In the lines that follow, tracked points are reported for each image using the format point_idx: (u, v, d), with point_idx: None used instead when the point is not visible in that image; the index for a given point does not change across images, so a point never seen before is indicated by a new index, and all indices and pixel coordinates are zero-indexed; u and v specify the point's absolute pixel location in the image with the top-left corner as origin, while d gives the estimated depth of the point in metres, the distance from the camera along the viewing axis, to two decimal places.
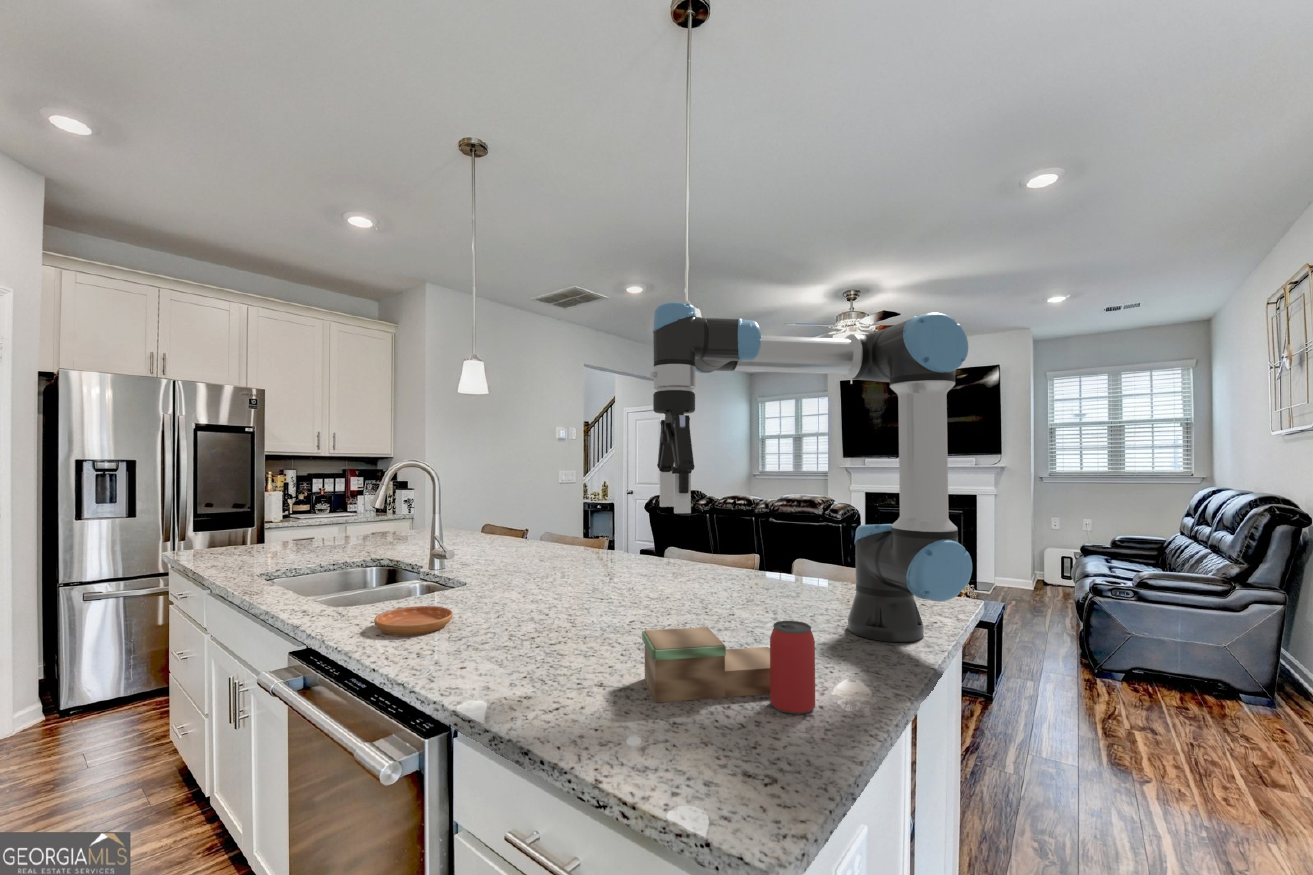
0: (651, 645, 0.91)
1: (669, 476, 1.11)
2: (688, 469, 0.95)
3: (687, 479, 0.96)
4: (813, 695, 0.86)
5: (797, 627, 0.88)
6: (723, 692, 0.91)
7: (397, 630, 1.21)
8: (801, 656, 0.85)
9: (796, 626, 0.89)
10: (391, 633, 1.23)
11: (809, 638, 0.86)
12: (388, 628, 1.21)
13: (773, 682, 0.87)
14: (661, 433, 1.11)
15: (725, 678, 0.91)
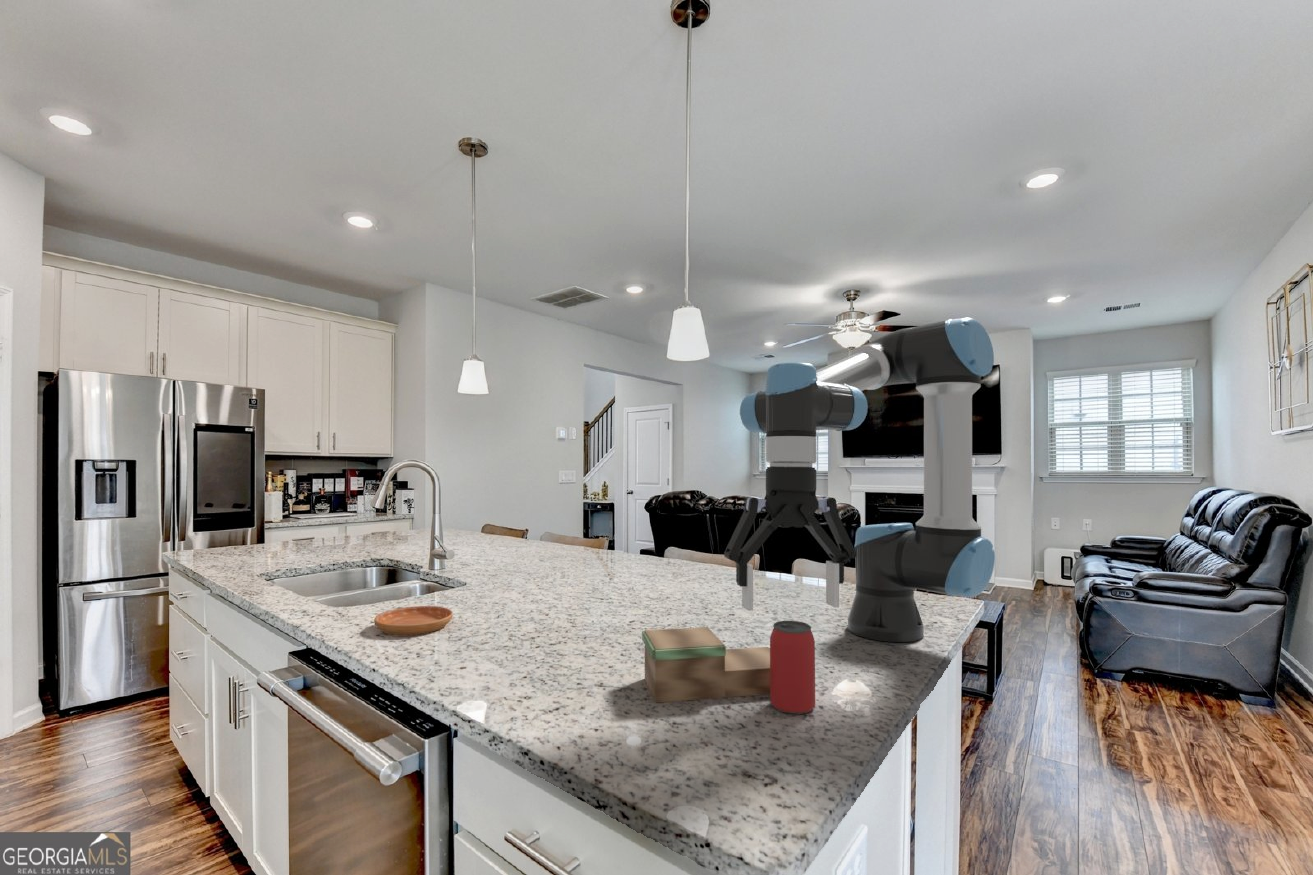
0: (651, 645, 0.91)
1: (831, 568, 0.89)
2: (729, 559, 0.86)
3: (738, 570, 0.86)
4: (813, 695, 0.86)
5: (797, 627, 0.88)
6: (723, 692, 0.91)
7: (397, 630, 1.21)
8: (801, 656, 0.85)
9: (796, 626, 0.89)
10: (391, 633, 1.23)
11: (809, 638, 0.86)
12: (388, 628, 1.21)
13: (773, 682, 0.87)
14: (823, 513, 0.91)
15: (725, 678, 0.91)
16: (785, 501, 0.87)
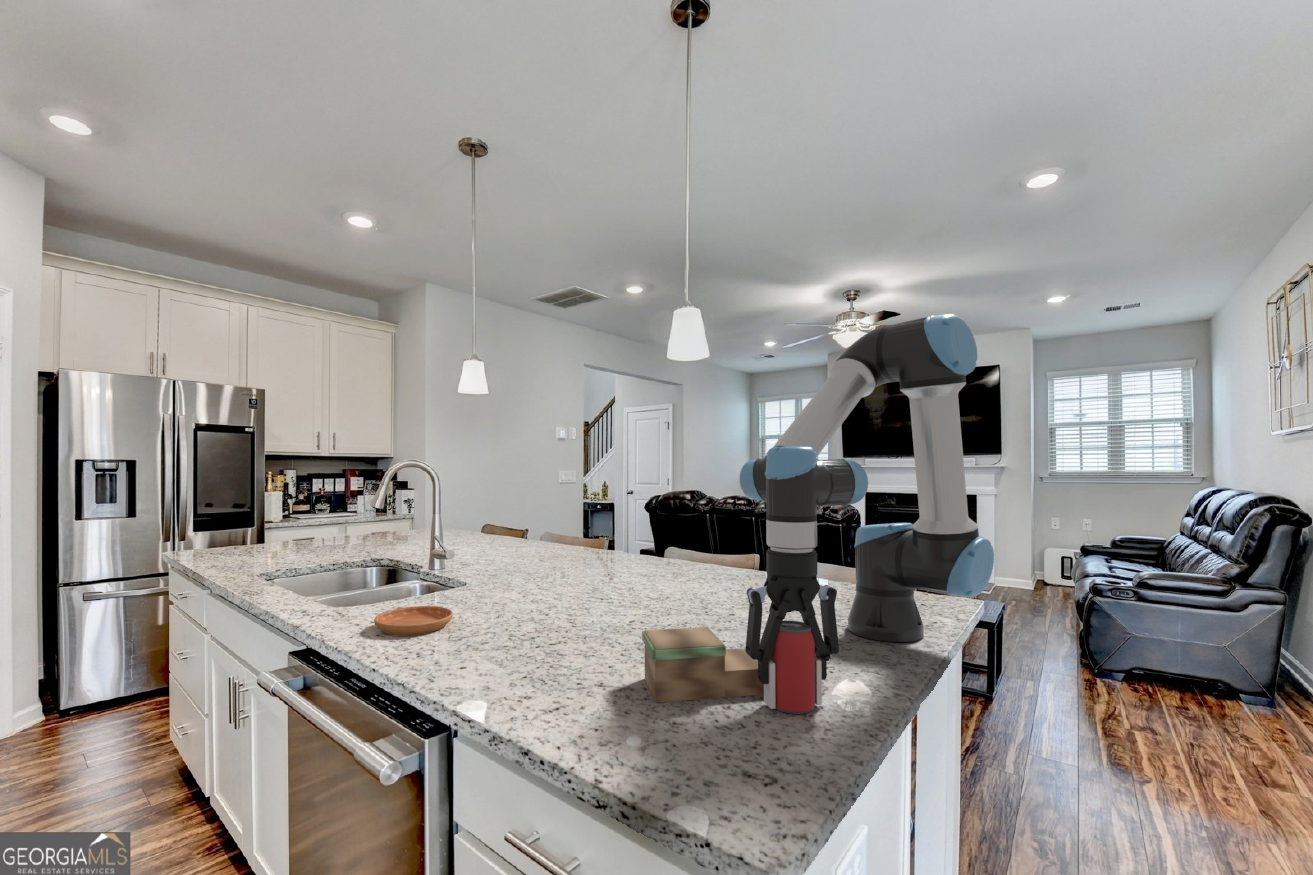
0: (651, 645, 0.91)
1: None
2: (751, 657, 0.86)
3: (760, 668, 0.86)
4: (813, 695, 0.86)
5: (797, 627, 0.88)
6: (723, 692, 0.91)
7: (397, 630, 1.21)
8: (801, 655, 0.85)
9: (796, 626, 0.89)
10: (391, 633, 1.23)
11: (809, 638, 0.86)
12: (388, 628, 1.21)
13: None
14: (820, 600, 0.90)
15: (725, 678, 0.91)
16: (784, 582, 0.87)
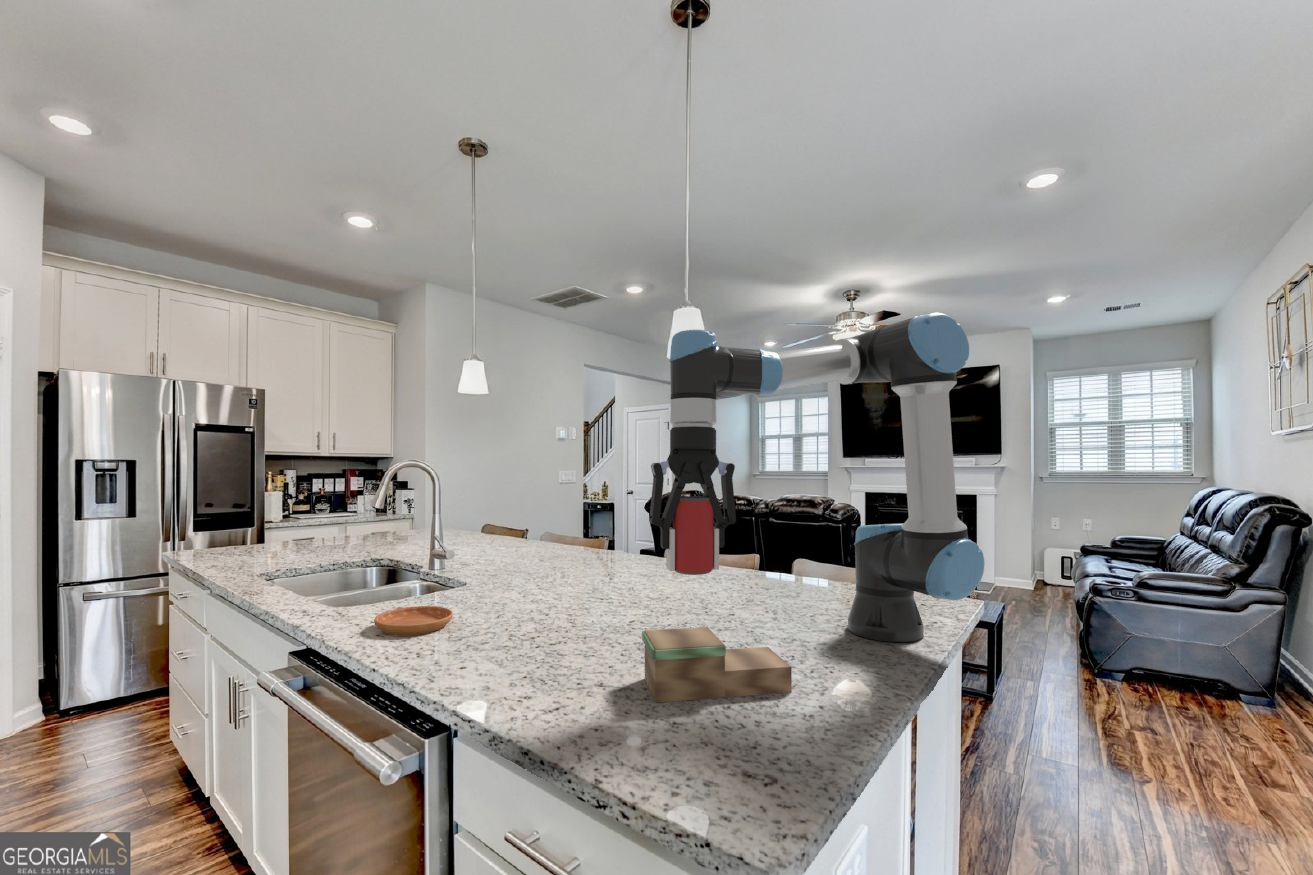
0: (651, 645, 0.91)
1: None
2: (653, 524, 0.93)
3: (662, 534, 0.93)
4: (709, 558, 0.93)
5: None
6: (723, 692, 0.91)
7: (397, 630, 1.21)
8: (698, 520, 0.92)
9: None
10: (391, 633, 1.23)
11: (707, 506, 0.93)
12: (388, 628, 1.21)
13: None
14: (721, 477, 0.97)
15: (725, 678, 0.91)
16: (685, 455, 0.94)
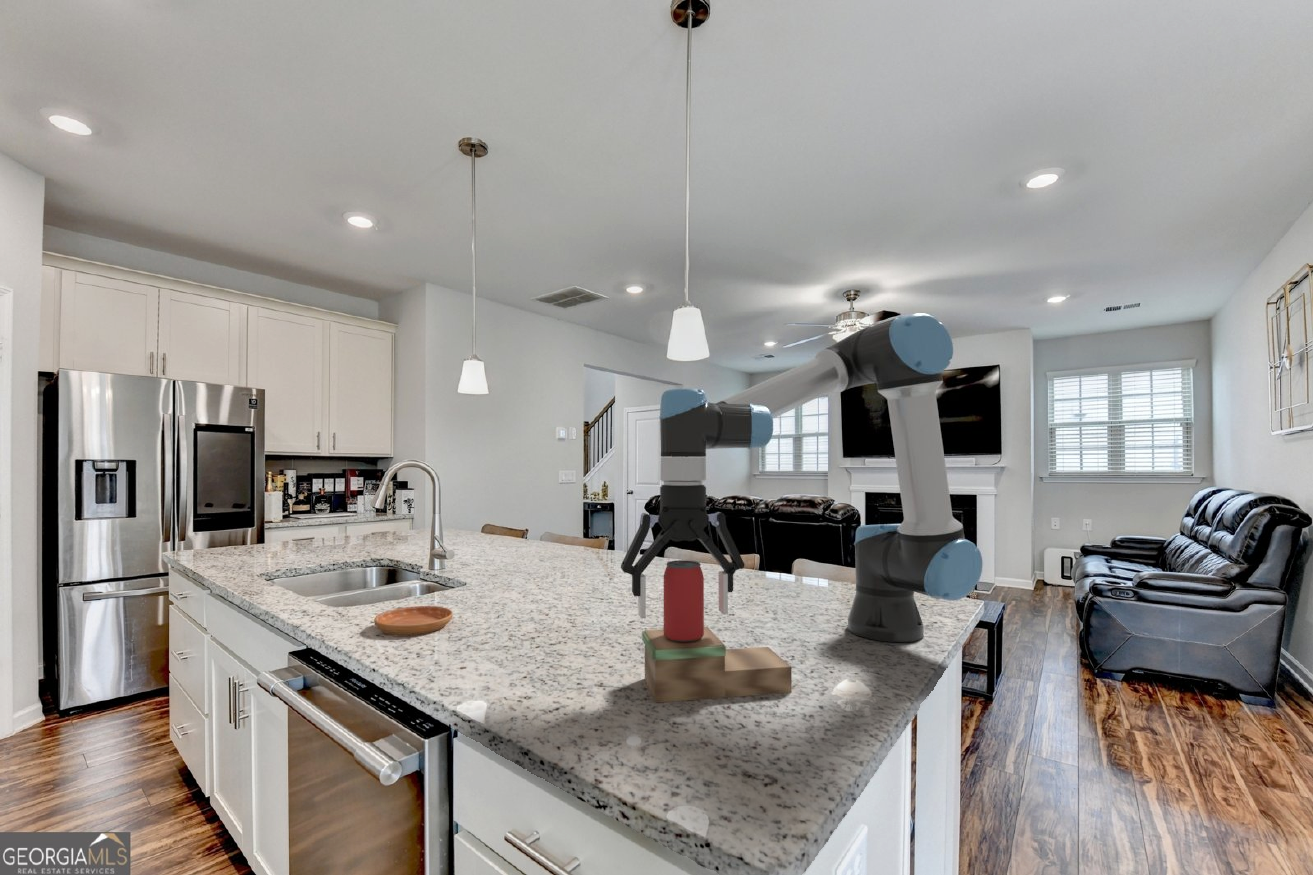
0: (651, 645, 0.91)
1: (721, 578, 0.96)
2: None
3: (633, 581, 0.93)
4: (700, 625, 0.93)
5: (688, 565, 0.96)
6: (723, 692, 0.91)
7: (397, 630, 1.21)
8: (688, 588, 0.92)
9: (688, 564, 0.96)
10: (391, 633, 1.23)
11: (697, 573, 0.93)
12: (388, 628, 1.21)
13: (664, 614, 0.94)
14: (716, 527, 0.98)
15: (725, 678, 0.91)
16: (676, 517, 0.95)
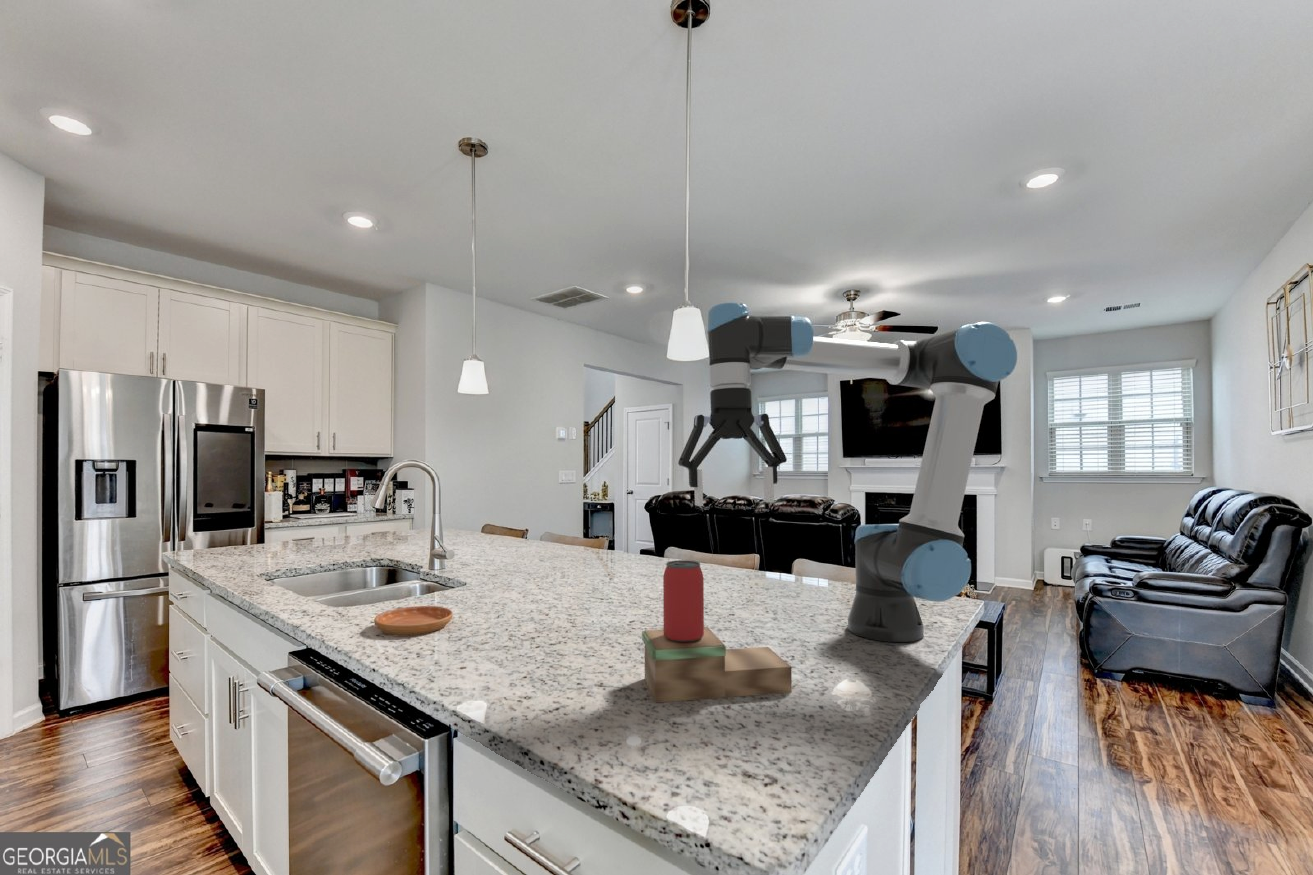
0: (651, 645, 0.91)
1: (767, 471, 1.09)
2: (682, 465, 1.05)
3: (690, 474, 1.05)
4: (699, 625, 0.93)
5: (688, 565, 0.96)
6: (723, 692, 0.91)
7: (397, 630, 1.21)
8: (688, 588, 0.92)
9: (688, 564, 0.96)
10: (391, 633, 1.23)
11: (697, 573, 0.93)
12: (388, 628, 1.21)
13: (664, 614, 0.94)
14: None
15: (725, 678, 0.91)
16: (726, 417, 1.07)
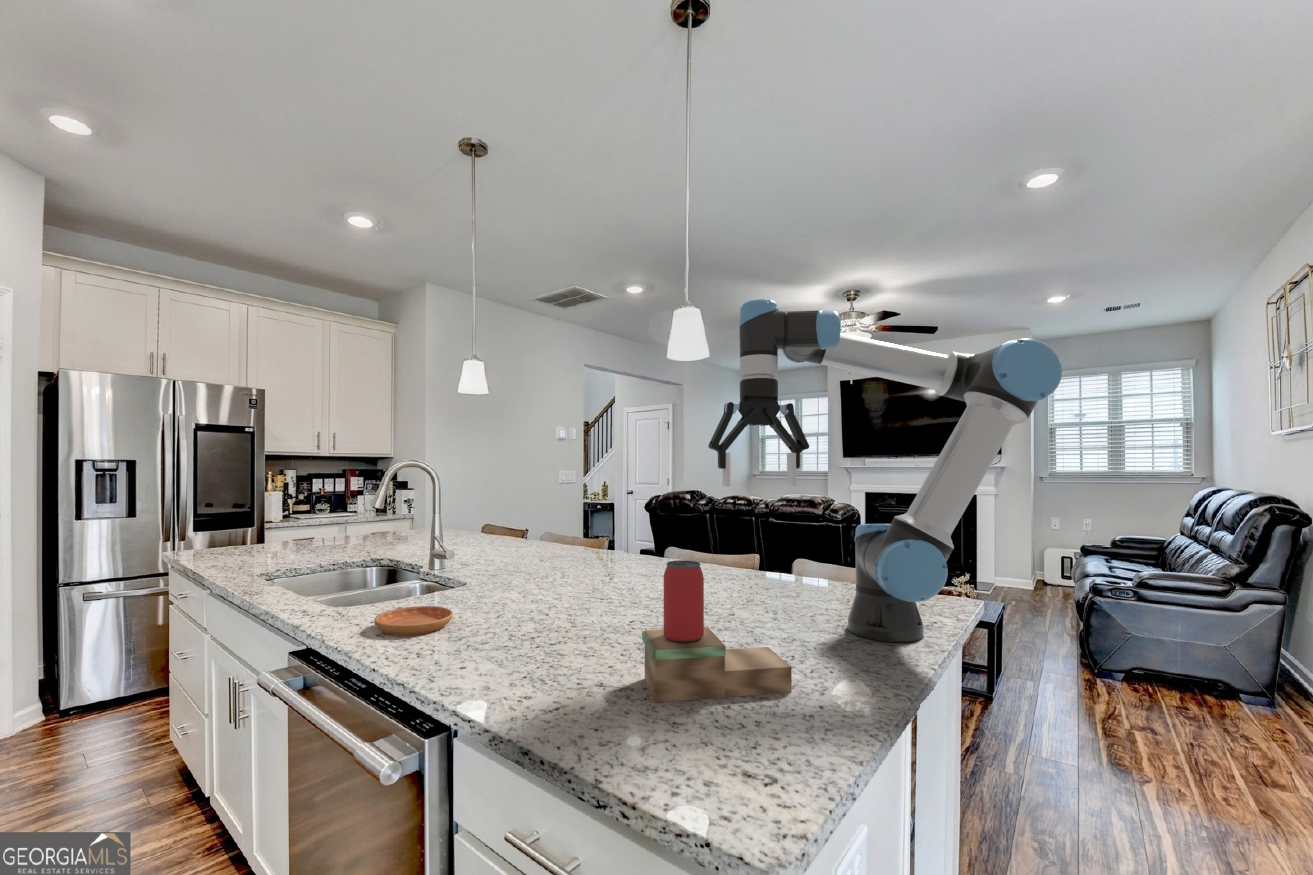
0: (651, 645, 0.91)
1: (790, 456, 1.17)
2: (712, 448, 1.14)
3: (719, 457, 1.14)
4: (699, 626, 0.93)
5: (688, 565, 0.96)
6: (723, 692, 0.91)
7: (397, 630, 1.21)
8: (688, 589, 0.92)
9: (688, 564, 0.96)
10: (391, 633, 1.23)
11: (697, 573, 0.93)
12: (388, 628, 1.21)
13: (664, 614, 0.94)
14: (784, 416, 1.19)
15: (725, 678, 0.91)
16: (754, 405, 1.16)
